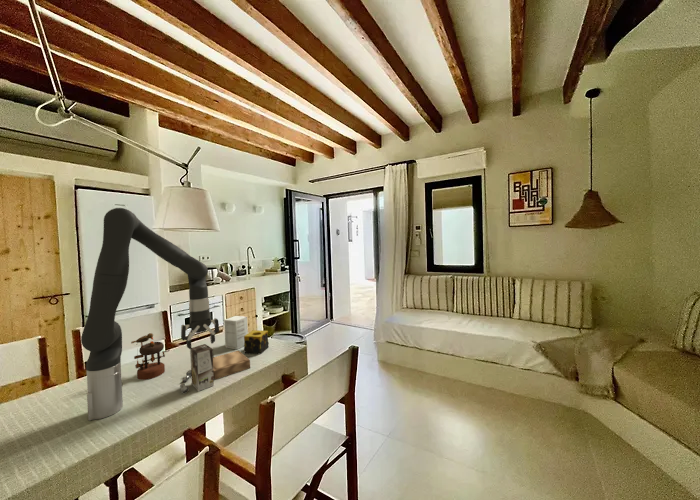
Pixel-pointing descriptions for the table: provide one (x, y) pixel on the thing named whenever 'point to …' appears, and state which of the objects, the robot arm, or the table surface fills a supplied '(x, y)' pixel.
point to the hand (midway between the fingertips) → (201, 345)
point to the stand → (229, 364)
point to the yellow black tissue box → (256, 342)
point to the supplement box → (235, 331)
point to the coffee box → (202, 367)
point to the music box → (145, 368)
